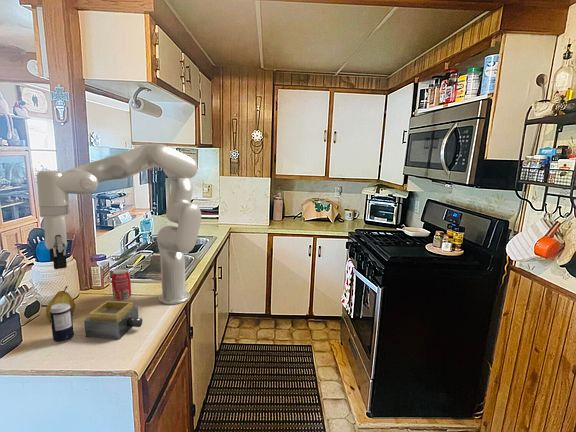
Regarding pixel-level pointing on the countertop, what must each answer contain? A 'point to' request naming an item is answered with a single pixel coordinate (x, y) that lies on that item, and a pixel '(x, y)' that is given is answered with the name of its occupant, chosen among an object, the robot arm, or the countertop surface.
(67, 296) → the fruit
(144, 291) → the countertop surface
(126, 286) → the soda can
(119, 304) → the box
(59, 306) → the beverage can
